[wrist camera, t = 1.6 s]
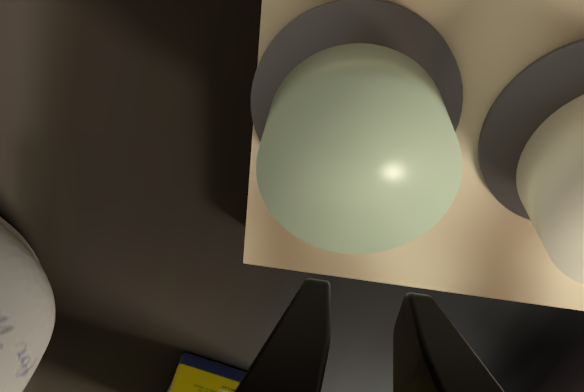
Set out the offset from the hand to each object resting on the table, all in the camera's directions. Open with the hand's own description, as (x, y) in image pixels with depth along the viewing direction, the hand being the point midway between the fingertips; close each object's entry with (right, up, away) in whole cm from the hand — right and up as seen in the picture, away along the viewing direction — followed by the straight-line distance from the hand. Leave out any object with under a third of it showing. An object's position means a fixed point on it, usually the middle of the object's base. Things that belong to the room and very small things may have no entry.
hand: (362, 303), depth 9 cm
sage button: (+1, +4, +5) cm, 6 cm away
